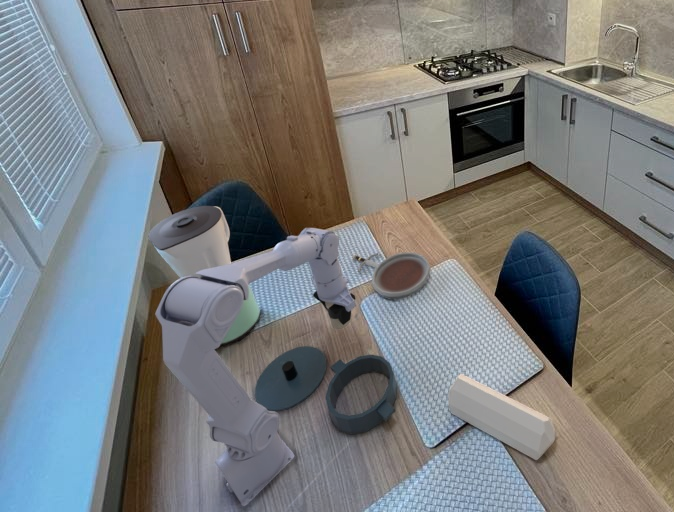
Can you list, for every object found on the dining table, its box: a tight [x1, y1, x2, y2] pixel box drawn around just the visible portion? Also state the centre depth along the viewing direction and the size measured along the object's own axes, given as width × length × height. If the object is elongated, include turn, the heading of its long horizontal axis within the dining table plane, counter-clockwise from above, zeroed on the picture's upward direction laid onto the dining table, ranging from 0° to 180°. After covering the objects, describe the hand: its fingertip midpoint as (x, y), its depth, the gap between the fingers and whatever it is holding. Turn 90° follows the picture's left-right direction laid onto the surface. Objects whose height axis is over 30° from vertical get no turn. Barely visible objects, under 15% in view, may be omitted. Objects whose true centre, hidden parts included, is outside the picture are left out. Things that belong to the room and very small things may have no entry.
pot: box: [325, 354, 398, 435], centre depth 87 cm, size 14×19×6 cm
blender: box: [147, 205, 261, 346], centre depth 100 cm, size 19×13×35 cm
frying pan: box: [352, 251, 431, 300], centre depth 122 cm, size 17×3×28 cm
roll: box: [325, 302, 352, 330], centre depth 96 cm, size 4×4×8 cm
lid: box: [254, 345, 328, 412], centre depth 92 cm, size 15×15×5 cm
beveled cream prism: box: [447, 373, 556, 461], centre depth 84 cm, size 7×7×24 cm
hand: (340, 316), depth 97 cm, fingers closed on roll, 4 cm apart
